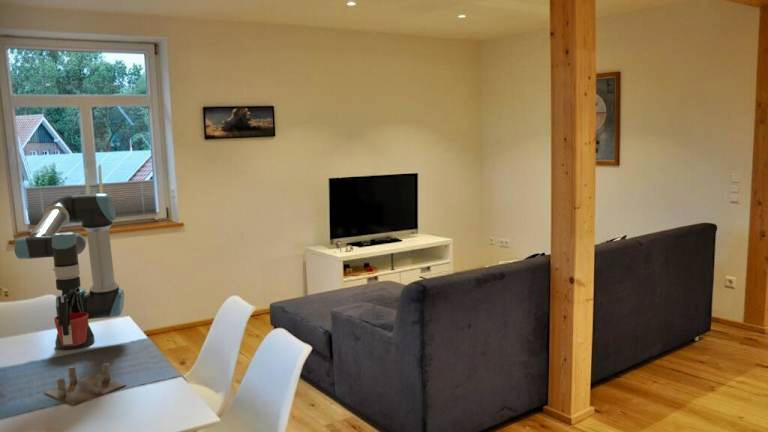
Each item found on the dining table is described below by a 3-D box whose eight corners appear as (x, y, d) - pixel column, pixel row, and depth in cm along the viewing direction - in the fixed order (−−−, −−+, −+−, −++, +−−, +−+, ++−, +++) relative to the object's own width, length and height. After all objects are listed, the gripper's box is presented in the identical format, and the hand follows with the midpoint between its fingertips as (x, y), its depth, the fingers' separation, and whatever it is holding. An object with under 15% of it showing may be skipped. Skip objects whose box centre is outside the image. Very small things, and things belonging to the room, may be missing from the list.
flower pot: (97, 339, 220) (95, 313, 219) (70, 349, 210) (67, 321, 209) (77, 336, 225) (75, 310, 223) (49, 345, 215) (47, 318, 214)
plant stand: (96, 375, 230) (95, 358, 229) (125, 386, 219) (124, 368, 218) (44, 393, 215) (42, 375, 214) (72, 406, 204) (70, 387, 203)
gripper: (68, 271, 225) (73, 330, 228) (43, 285, 203) (49, 350, 205) (89, 269, 226) (95, 328, 229) (67, 283, 204) (73, 348, 206)
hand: (73, 338), depth 217 cm, fingers closed on flower pot, 10 cm apart
